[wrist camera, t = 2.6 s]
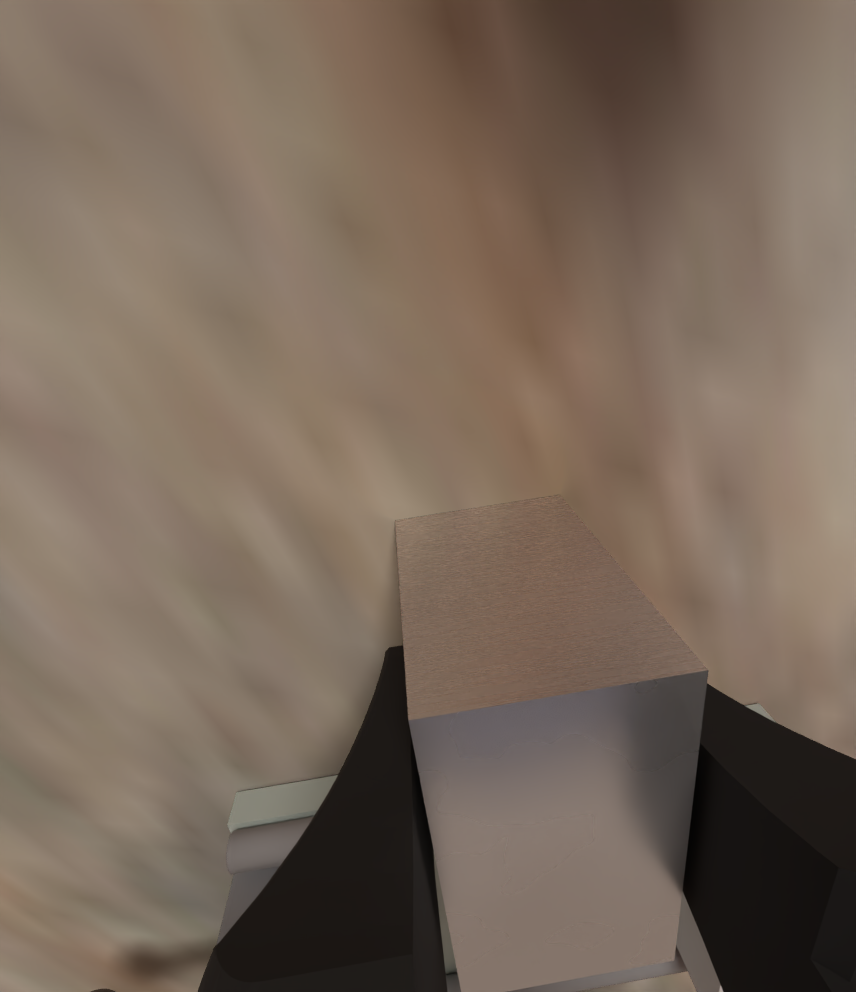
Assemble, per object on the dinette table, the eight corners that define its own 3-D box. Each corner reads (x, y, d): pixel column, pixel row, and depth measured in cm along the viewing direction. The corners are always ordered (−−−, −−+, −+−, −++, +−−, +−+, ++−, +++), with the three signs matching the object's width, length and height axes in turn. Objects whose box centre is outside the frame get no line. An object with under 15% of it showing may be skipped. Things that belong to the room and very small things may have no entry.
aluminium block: (559, 495, 12) (708, 670, 7) (565, 711, 15) (674, 960, 9) (395, 520, 12) (408, 719, 7) (431, 733, 15) (462, 1000, 9)
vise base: (759, 700, 16) (885, 839, 12) (724, 899, 20) (809, 1051, 16) (40, 823, 15) (-79, 1013, 11) (158, 1002, 19) (101, 1187, 15)
